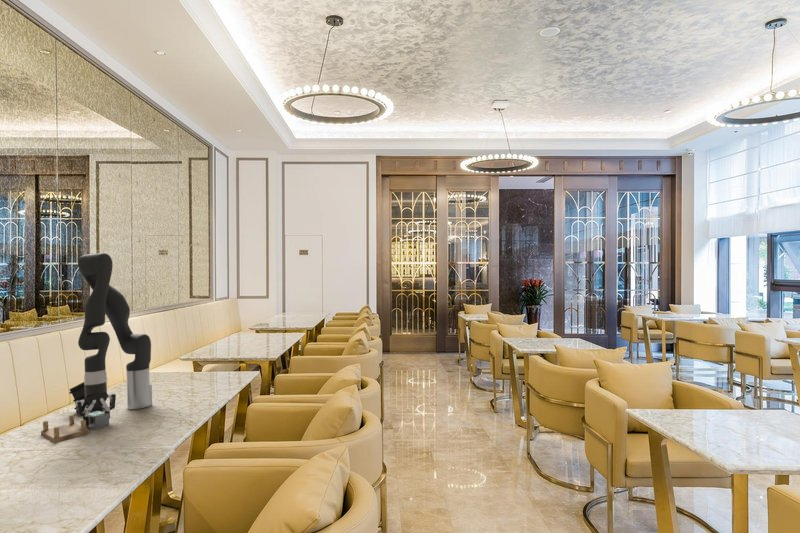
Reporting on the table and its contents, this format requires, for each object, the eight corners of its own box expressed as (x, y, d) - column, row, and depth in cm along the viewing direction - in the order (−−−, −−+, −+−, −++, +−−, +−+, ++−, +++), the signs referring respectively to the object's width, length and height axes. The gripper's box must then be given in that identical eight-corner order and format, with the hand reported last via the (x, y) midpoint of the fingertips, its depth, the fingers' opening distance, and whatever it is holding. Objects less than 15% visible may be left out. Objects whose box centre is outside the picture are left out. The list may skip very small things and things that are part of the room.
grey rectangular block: (98, 422, 193) (97, 410, 193) (109, 426, 188) (108, 413, 188) (84, 426, 189) (84, 413, 189) (95, 430, 184) (95, 417, 184)
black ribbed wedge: (108, 406, 210) (92, 377, 209) (80, 421, 208) (63, 392, 207) (112, 404, 214) (96, 375, 213) (85, 418, 212) (68, 389, 211)
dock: (74, 426, 189) (74, 414, 189) (88, 433, 179) (87, 420, 180) (41, 434, 180) (40, 421, 180) (54, 442, 171) (53, 428, 171)
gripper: (111, 377, 196) (112, 416, 196) (71, 384, 185) (72, 426, 185) (118, 379, 192) (120, 419, 192) (78, 386, 181) (79, 430, 180)
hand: (96, 423), depth 188 cm, fingers open, 6 cm apart
